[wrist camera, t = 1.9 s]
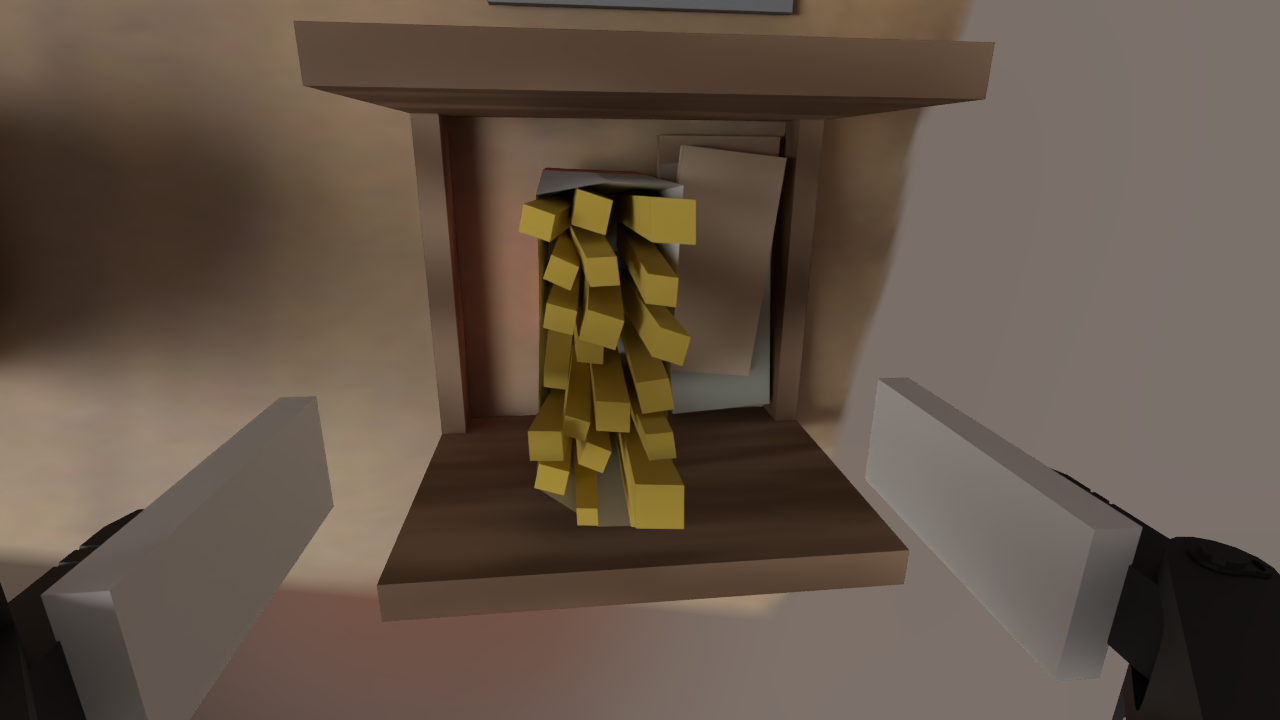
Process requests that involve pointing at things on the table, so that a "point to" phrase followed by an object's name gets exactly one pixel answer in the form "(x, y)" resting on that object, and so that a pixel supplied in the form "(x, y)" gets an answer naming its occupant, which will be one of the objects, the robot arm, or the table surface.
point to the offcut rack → (706, 308)
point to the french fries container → (608, 343)
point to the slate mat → (667, 5)
